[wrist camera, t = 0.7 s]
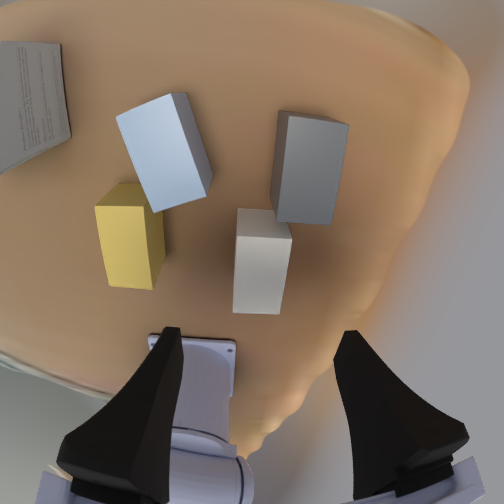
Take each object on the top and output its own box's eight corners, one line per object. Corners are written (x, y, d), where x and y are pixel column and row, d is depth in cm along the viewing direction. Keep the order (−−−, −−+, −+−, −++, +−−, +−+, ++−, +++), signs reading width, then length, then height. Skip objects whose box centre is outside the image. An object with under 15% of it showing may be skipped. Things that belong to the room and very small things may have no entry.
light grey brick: (273, 278, 22) (279, 314, 19) (233, 276, 22) (232, 312, 19) (283, 210, 19) (292, 239, 16) (237, 207, 19) (236, 236, 16)
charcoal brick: (314, 198, 19) (330, 225, 16) (269, 195, 19) (276, 221, 15) (327, 116, 16) (349, 125, 13) (278, 110, 16) (289, 116, 13)
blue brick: (213, 174, 18) (206, 196, 15) (169, 188, 18) (153, 213, 15) (186, 92, 15) (170, 93, 12) (140, 110, 16) (115, 116, 12)
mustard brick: (166, 255, 21) (152, 289, 18) (128, 253, 21) (109, 285, 17) (161, 182, 18) (143, 206, 15) (119, 182, 18) (94, 206, 15)
